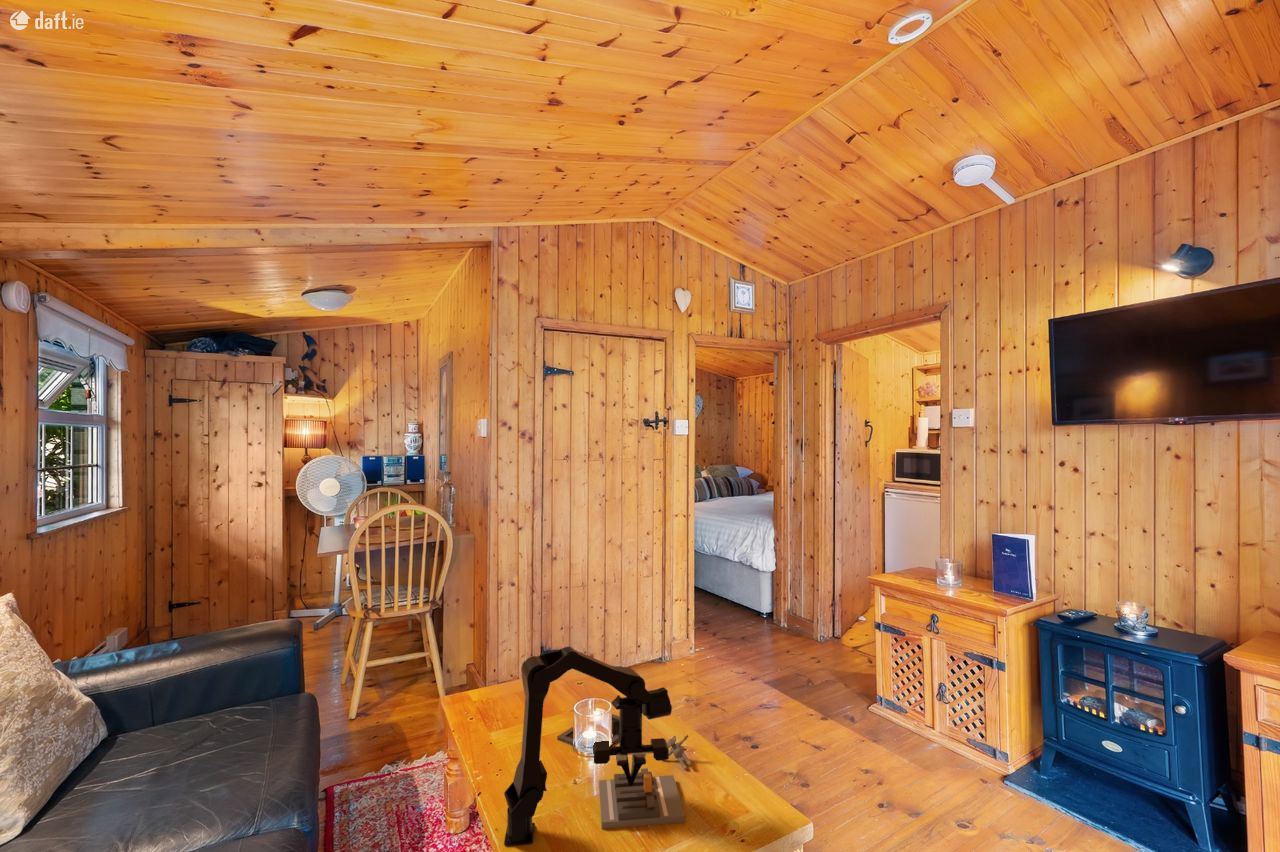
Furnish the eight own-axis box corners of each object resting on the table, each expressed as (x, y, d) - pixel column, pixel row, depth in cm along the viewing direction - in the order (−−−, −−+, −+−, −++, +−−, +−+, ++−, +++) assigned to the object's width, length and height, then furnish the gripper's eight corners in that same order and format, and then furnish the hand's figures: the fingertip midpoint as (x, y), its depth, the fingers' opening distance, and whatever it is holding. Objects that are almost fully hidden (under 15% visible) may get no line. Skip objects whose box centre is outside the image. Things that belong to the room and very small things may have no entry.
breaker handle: (651, 792, 145) (651, 779, 145) (644, 792, 145) (644, 779, 145) (650, 786, 147) (650, 773, 147) (643, 786, 147) (643, 774, 147)
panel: (685, 822, 138) (684, 803, 138) (601, 828, 136) (601, 809, 136) (673, 780, 155) (673, 763, 155) (599, 786, 153) (598, 768, 153)
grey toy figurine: (670, 776, 158) (653, 750, 165) (679, 784, 161) (662, 758, 168) (696, 749, 160) (679, 724, 167) (705, 757, 163) (687, 733, 170)
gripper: (662, 706, 155) (662, 765, 154) (593, 709, 153) (592, 769, 152) (669, 726, 144) (669, 790, 143) (594, 730, 142) (593, 794, 141)
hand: (630, 784), depth 145 cm, fingers closed
